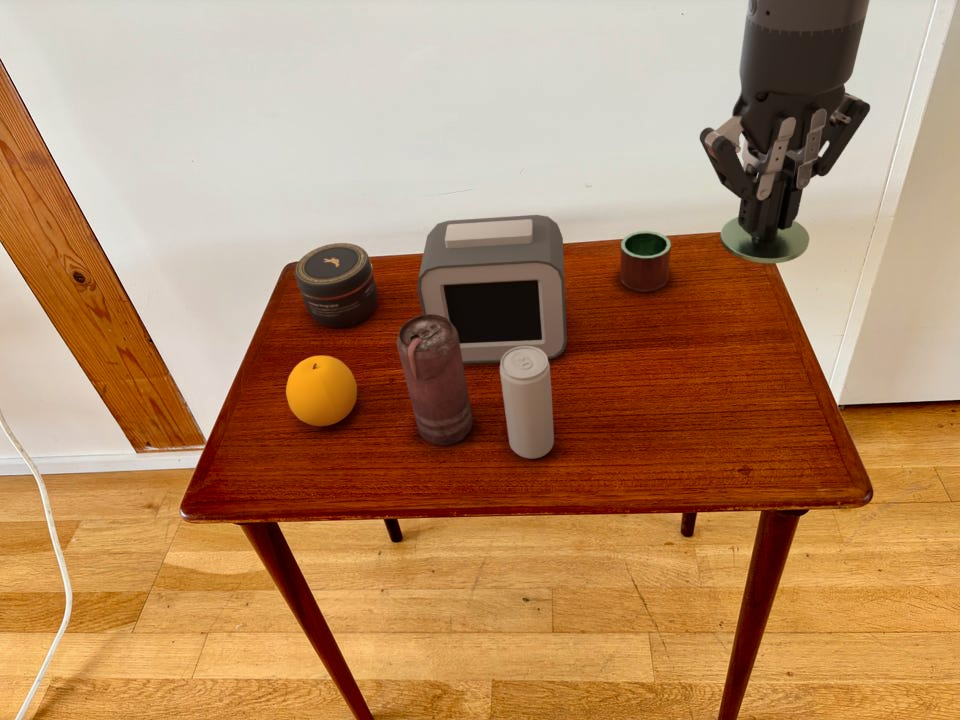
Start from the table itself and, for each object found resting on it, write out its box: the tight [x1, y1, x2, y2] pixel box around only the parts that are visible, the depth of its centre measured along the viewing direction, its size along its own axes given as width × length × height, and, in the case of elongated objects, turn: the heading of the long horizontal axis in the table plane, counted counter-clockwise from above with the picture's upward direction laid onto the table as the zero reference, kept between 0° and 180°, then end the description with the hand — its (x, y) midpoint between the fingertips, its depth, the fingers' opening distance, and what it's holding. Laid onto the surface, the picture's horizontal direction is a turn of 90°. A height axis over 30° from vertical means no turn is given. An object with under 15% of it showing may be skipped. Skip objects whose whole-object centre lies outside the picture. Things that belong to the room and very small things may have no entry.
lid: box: [719, 171, 810, 265], centre depth 58 cm, size 7×7×7 cm
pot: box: [619, 230, 672, 293], centre depth 93 cm, size 6×6×5 cm
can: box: [396, 314, 474, 447], centre depth 74 cm, size 6×6×14 cm
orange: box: [285, 355, 358, 427], centre depth 80 cm, size 8×8×8 cm
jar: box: [294, 242, 378, 329], centre depth 95 cm, size 10×10×8 cm
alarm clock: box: [416, 214, 568, 365], centre depth 85 cm, size 16×11×16 cm
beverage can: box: [499, 346, 555, 460], centre depth 72 cm, size 5×5×12 cm
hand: (766, 227), depth 59 cm, fingers closed on lid
